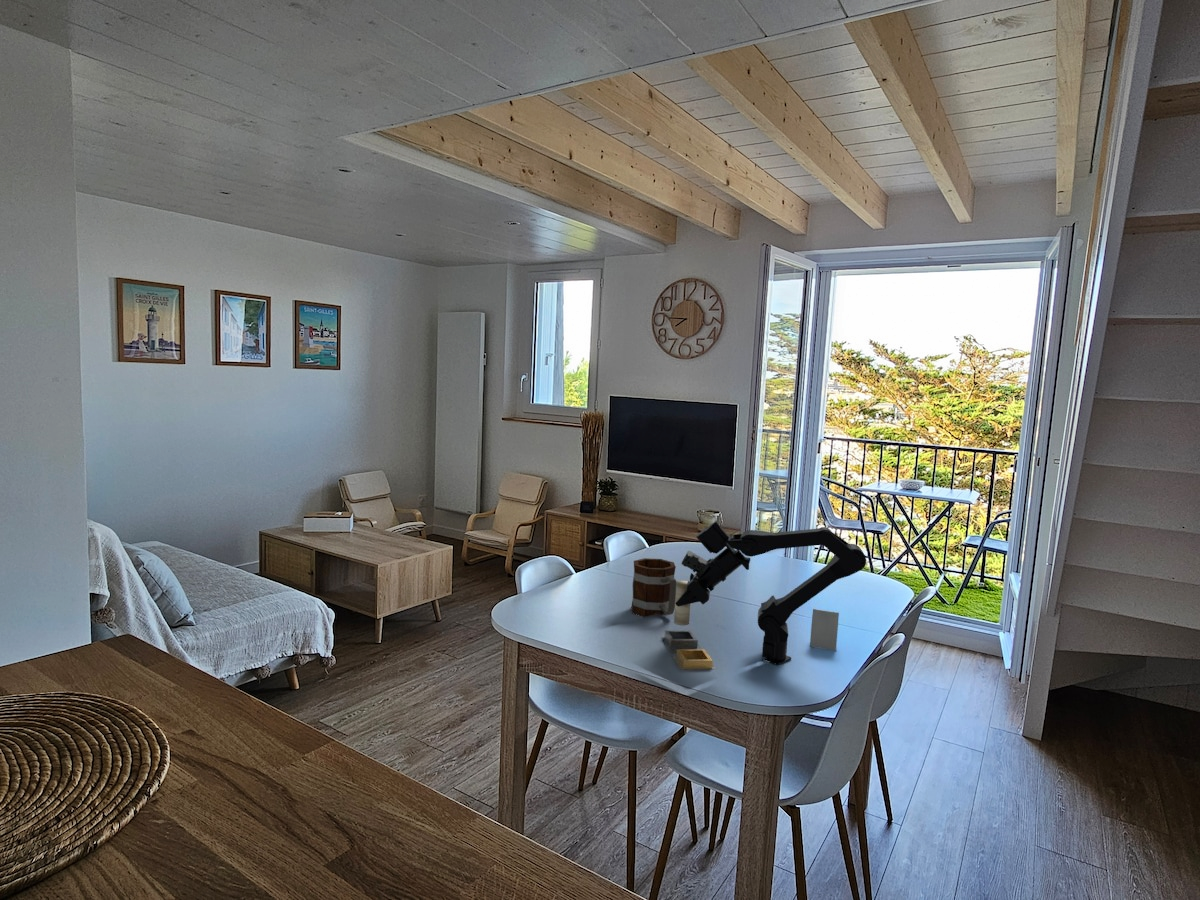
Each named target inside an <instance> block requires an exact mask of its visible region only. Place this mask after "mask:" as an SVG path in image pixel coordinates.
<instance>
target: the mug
mask: <svg viewBox="0 0 1200 900" xmlns="http://www.w3.org/2000/svg"><path fill="white" fill-rule="evenodd" d="M676 568H677V567H676V564H675V562H674V561H670V560H666V559H662V558H649V557H648V558H646V557H644V558H641V559H636V560H635V559H634V560H633V579H632V601H631V602H632V603H631V606H630V607H631V608H632V609H631V613H632V614H633V613H634V614H633V615H636V614H637V615H636V616H638V615H639V616H638V617H641V616H642V617H641V618H646V617H651V616H655V615H666V616H669V615H670V616H671V615H673V614H674V613H675V597H676V582H677V580H676V578H675V573H676Z"/></svg>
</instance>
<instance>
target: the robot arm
mask: <svg viewBox="0 0 1200 900" xmlns="http://www.w3.org/2000/svg"><path fill="white" fill-rule="evenodd" d="M696 539H697V540H698V541H699V542H700V543H701V544H702V546H703V547H704V548H705V549H706V550H707V551H708V552H709V553H710V554H712V553H713V554H716V556H715V557H714V558H709V559H708V560H706V559H704V558H703V557H701V556H700V555H698V554H696V553H694V552H692V551H691V550H688V551H687V552H686V553H685V556H684V557H683V559H682V561H681V564H680V565H682V566H684V567H686V568H689V569H690V570H692V572H693V573H695V574H693V573H690V575H689V580H687V581H688V583H687V590H686V591H685V592H684V594H683V595H682V596H681V597H680V598H679V599H678V601H677V602H676V603H675V604H676V605H677V606H678V607H679V606H683V605H687V604H690V605H691V604H695V603H701V605H705V604H706V603H708V602H709V600H710V597H711V592H712V591H713V590H714V589H715V587H716V586H717V585H719V584H720V583H721V582H724V581H726V580H727V578H728V577H729V576H730V575H731V574H732V573H733V572H735V571H736V570H737V569H739V568H740V567H741V566H742V567H743V568H744V569H745V570H746V571H748V570H750V563H751V557H755V556H759V555H763V554H766V553H769V552H771V551H775V550H780V549H792V548H803V547H812V546H815V547H816V546H823V547H825V548H826V549H827V550H829V551H830V552H831V553H832V554H833V556H832V557H831V559H830V561H829V562H828V563H827V564H826V565H825V566H824V567H822V568H821V569H820V570H818V571H817V572H816V573H815V574H813V575H812V576H810V577H808V579H806V580H805V581H803V582H802V583H801V584H799V585H798V586H796V587H795V588H794V589H793V590H791V591H790V592H789V593H787V594H786V595H784V596H783V597H780V598H776V597H775V596H774V595H771V596H770V597H769V598H768V599H767V600H766V601H763V602H761V603H760V607H759V609H758V610H757V625H758V628H759V629H760V630H762V632H764V635H763V639H762V640H763V642H762V649H761V650H762V652H761V656H762V657H763V658H762V660H763V661H765V662H769V663H770V664H773V665H775V666H778V665H782V664H784V663H786V662H788V661H791V660H792V657H791V656H790V655H787V650H788V638H789V631H788V630H789V628H788V623H787V621H788V619H789V618H790V617H791V616H792V614H793V613H794V612H795V611H796V610H798V609H799V608H800V607H802V606H803V605H805V604H806V603H807V602H808V601H810V600H811V599H813V598H815V596H817V595H818V594H820V593H821V592H822V591H824V590H825V589H826V588H828V587H829V586H831V585H832V584H833V583H835V582H836V581H838V580H841V579H844V578H847V577H849V576H850V577H851V576H852V575H854V574H856V573H859V572H860V571H862V570H863V569H864V568H865V567H866V565H867V558H866V555H865V553H864V551H863V550H862V548H861V547H860V546H859V545H857V544H855V543H848V541H846V540H845V539H843V538H842V537H840V536H839V535H837V534H836V533H834V532H833V531H832V530H831V529H830V528H829V527H826V526H824V527H823V526H821V527H819V528H812V529H800V530H789V531H781V532H780V531H779V532H777V531H776V532H769V531H764V530H755V529H749V530H745V531H743V532H742V533H736V534H735V533H733V534H730V533H729V534H728V533H727V532H726V531H725V529H723V528H722V526H721V524H720V523H719V522H718V521H717V520H714V522H712V523H711V524H709V525H708V526H705V527H704V528H703V529H702V530H701V531H700V532H698V534H697V535H696ZM724 548H725V549H724Z"/></svg>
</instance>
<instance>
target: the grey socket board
mask: <svg viewBox="0 0 1200 900" xmlns="http://www.w3.org/2000/svg"><path fill="white" fill-rule="evenodd" d="M660 638H661V640H662V642H663V643H664V646H665V647H666V648H667V650H668V651H669V653H670V655H671V657H672V658H673V660H674V662H675V663H676V665H677V667H678V669H679V670H681V671H682V670H717V668H716V667H715V665H714V664H713V659H712V658H711V656H710V654H709V653H708V652H707V651H706V650H705V648H702V647H701V646H700V645H699V643H698V642H699V640H698V638H697V637H696V636H695V634H694V633H693V631H692V630H664V637H660Z"/></svg>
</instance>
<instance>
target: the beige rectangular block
mask: <svg viewBox="0 0 1200 900" xmlns="http://www.w3.org/2000/svg"><path fill="white" fill-rule="evenodd" d="M839 616H840V612H839V611H830V610H823V609H817V608H813V609H812V616H811V617H812V619H811V627H810V639H809V647H811V646H812V647H811V648H817V649H824V650H829V651H835V652H836V651H837V646H838V645H837V642H838V631H839V629H838V628H839V619H840V618H839Z"/></svg>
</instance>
